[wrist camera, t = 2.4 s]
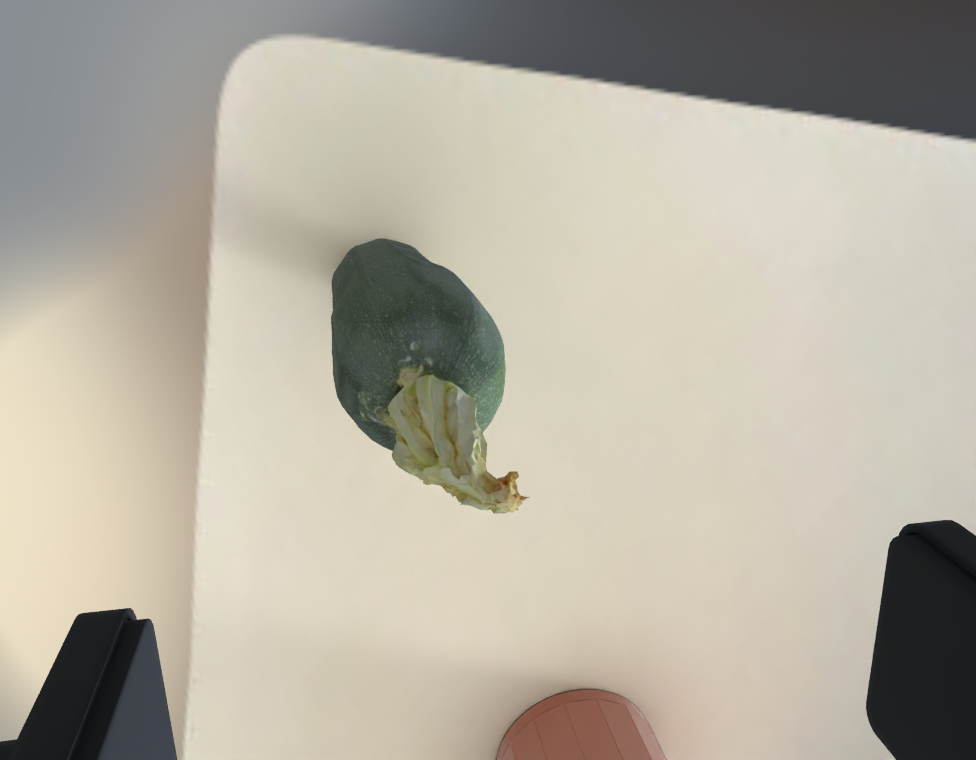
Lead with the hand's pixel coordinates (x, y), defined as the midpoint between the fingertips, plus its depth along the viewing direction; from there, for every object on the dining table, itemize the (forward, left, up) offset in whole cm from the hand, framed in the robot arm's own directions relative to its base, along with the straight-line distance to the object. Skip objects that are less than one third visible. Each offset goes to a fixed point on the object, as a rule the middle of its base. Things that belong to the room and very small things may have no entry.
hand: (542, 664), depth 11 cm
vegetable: (0, 0, -26) cm, 26 cm away
